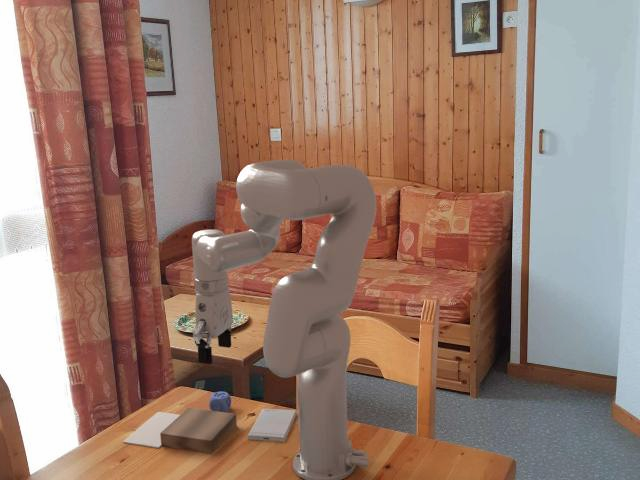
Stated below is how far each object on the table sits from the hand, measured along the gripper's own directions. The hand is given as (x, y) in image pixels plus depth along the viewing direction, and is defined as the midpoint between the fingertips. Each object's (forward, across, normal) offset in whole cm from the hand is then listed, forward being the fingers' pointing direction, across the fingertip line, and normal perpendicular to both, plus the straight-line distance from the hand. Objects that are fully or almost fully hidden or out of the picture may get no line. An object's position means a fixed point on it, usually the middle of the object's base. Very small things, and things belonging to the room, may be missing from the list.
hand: (215, 354), depth 149 cm
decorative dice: (+14, 0, -1) cm, 14 cm away
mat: (+14, -12, +9) cm, 21 cm away
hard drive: (+14, -4, -16) cm, 22 cm away
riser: (+14, -12, -2) cm, 19 cm away
